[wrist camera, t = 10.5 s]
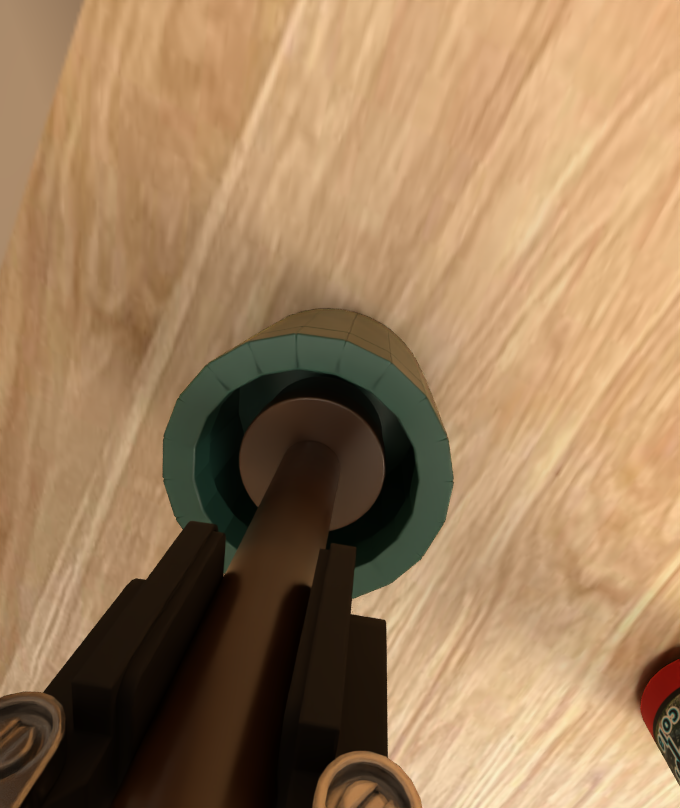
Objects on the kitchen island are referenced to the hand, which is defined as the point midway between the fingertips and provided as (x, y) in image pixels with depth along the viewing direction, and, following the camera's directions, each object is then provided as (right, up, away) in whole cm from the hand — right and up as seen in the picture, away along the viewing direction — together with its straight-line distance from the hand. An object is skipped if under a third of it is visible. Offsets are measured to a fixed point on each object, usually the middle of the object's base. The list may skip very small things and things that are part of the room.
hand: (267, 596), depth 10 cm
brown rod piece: (+1, +3, +9) cm, 10 cm away
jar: (+1, +4, +13) cm, 14 cm away
